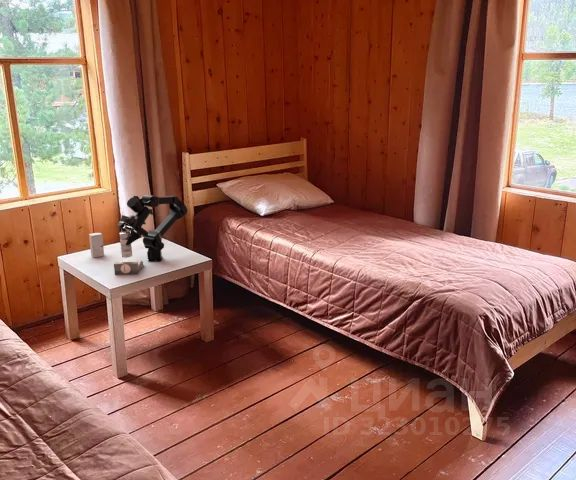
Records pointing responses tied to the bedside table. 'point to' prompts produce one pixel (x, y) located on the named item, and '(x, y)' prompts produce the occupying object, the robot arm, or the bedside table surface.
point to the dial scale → (128, 267)
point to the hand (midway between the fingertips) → (123, 243)
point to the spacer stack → (125, 249)
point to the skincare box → (96, 244)
